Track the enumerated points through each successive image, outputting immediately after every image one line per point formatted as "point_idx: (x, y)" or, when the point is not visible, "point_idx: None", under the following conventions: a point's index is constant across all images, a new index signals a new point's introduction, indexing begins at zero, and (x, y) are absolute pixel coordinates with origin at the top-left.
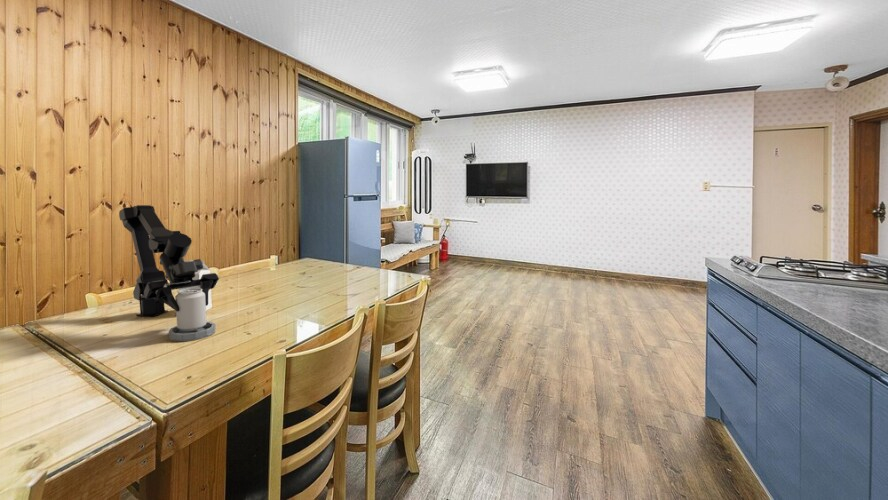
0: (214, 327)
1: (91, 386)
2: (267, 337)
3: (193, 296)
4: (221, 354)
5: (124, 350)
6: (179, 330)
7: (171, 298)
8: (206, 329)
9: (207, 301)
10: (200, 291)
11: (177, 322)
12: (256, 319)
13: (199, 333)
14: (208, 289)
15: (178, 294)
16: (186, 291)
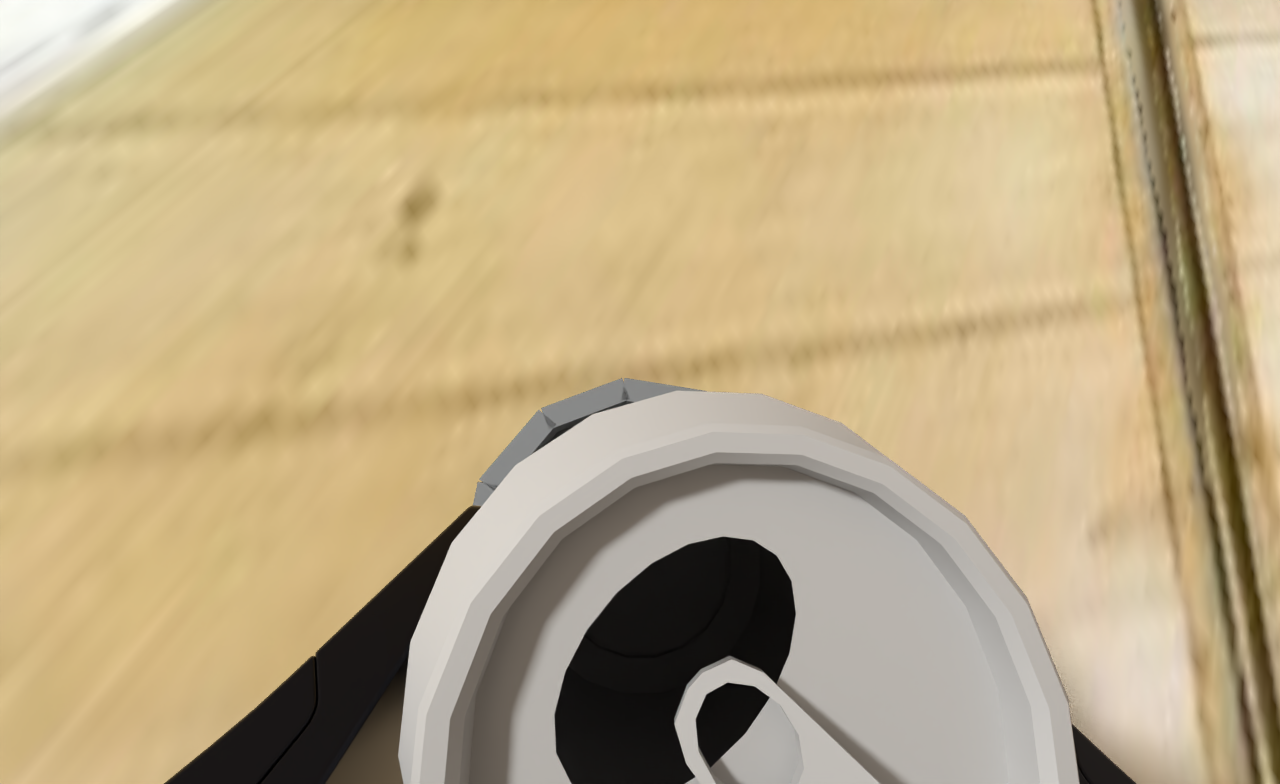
0: (522, 432)
1: (1233, 235)
2: (412, 48)
3: (789, 421)
4: (732, 66)
5: (1043, 613)
6: None
7: (1086, 760)
8: (607, 405)
9: (458, 530)
10: (600, 471)
11: (780, 595)
12: (105, 451)
13: (675, 387)
14: (172, 781)
15: (1018, 773)
16: (864, 767)
